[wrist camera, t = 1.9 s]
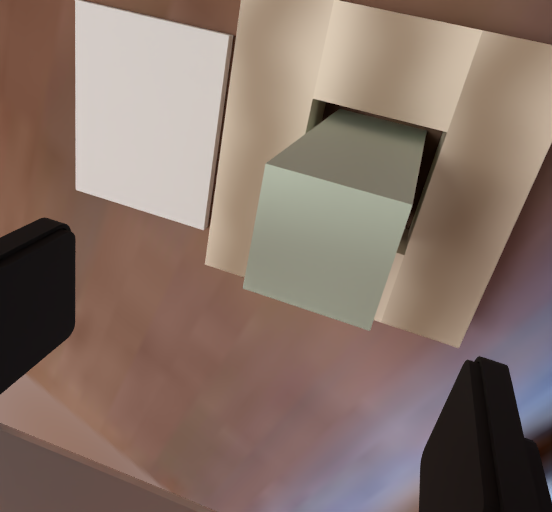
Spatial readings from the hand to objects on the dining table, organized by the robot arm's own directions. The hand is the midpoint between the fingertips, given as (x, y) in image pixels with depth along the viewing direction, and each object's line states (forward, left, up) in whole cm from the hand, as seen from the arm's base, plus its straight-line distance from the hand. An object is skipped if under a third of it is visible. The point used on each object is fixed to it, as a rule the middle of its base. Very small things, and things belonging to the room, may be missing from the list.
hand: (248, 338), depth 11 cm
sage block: (0, 0, -17) cm, 17 cm away
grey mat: (+13, +1, -17) cm, 21 cm away
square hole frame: (0, 0, -17) cm, 17 cm away
